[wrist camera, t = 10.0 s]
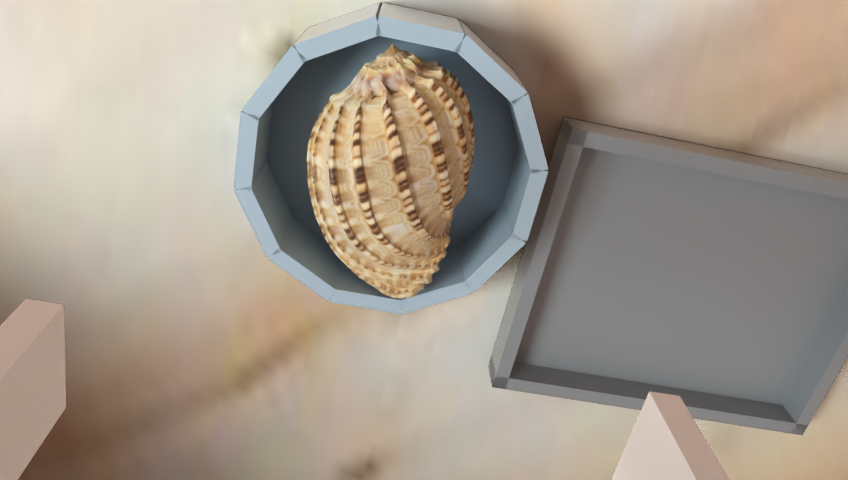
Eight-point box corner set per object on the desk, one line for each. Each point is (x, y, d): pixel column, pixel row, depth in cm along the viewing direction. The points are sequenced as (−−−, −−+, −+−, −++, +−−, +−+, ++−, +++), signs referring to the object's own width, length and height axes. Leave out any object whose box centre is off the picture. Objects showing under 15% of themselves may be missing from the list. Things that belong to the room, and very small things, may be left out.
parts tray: (488, 365, 37) (492, 386, 35) (563, 116, 31) (572, 128, 29) (785, 413, 38) (802, 435, 37) (911, 187, 33) (937, 201, 31)
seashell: (505, 209, 33) (445, 8, 27) (520, 291, 28) (451, 69, 22) (354, 248, 34) (266, 65, 28) (343, 333, 29) (235, 134, 23)
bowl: (244, 244, 33) (224, 285, 30) (272, -22, 28) (252, -12, 24) (490, 286, 34) (500, 330, 31) (561, 40, 29) (582, 58, 26)
